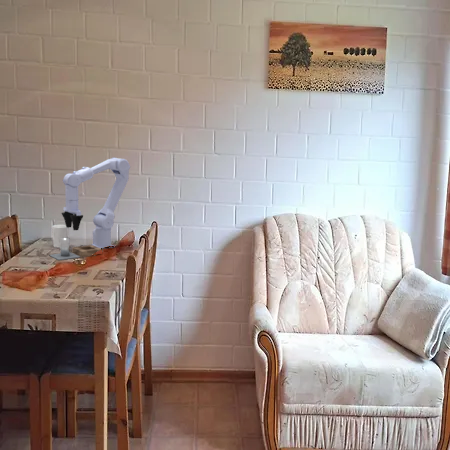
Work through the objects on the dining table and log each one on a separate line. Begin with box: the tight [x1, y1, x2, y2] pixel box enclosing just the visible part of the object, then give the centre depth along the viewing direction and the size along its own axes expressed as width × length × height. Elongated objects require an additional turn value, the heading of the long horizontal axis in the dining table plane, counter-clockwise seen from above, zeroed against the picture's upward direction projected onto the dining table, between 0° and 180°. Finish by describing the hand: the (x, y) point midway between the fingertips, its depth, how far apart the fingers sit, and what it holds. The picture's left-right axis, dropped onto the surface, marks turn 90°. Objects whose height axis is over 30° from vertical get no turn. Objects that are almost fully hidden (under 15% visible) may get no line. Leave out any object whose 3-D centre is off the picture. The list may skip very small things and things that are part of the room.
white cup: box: [51, 224, 70, 249], centre depth 258 cm, size 8×8×10 cm
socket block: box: [71, 244, 101, 258], centre depth 247 cm, size 10×10×2 cm
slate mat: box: [49, 251, 81, 261], centre depth 240 cm, size 10×10×1 cm
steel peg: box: [59, 237, 71, 257], centre depth 239 cm, size 4×4×8 cm
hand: (72, 228), depth 250 cm, fingers open, 7 cm apart
